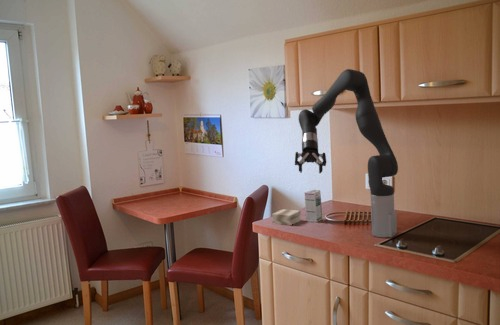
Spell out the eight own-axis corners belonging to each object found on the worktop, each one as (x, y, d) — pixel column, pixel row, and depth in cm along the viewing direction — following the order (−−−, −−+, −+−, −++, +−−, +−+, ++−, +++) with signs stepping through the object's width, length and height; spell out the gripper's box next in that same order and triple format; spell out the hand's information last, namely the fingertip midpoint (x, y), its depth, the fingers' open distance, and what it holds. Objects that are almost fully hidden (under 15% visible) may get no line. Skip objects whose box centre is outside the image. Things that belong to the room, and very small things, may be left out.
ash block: (301, 220, 216) (300, 210, 215) (290, 226, 208) (290, 215, 207) (283, 218, 222) (282, 209, 221) (272, 224, 214) (272, 213, 213)
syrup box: (316, 222, 210) (315, 192, 208) (305, 221, 213) (304, 191, 211) (322, 219, 214) (320, 190, 212) (311, 218, 218) (310, 189, 216)
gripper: (295, 138, 208) (295, 166, 198) (325, 139, 207) (327, 167, 197) (294, 148, 214) (294, 176, 204) (324, 149, 213) (325, 177, 203)
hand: (310, 172), depth 201 cm, fingers open, 8 cm apart
